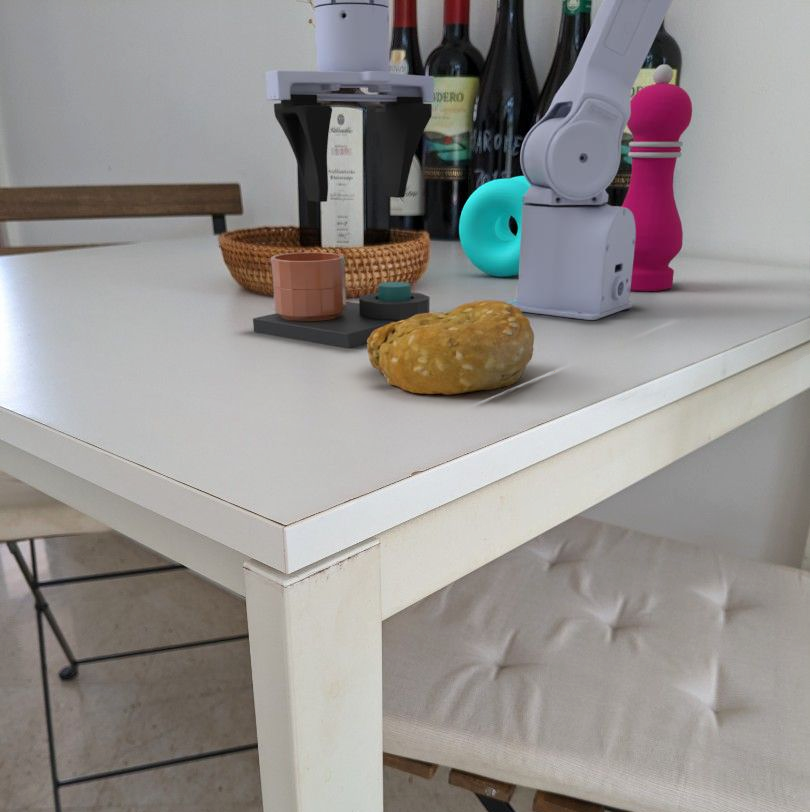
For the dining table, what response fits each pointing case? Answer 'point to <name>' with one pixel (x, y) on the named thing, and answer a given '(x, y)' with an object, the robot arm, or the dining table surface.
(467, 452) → the dining table surface
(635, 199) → the pepper mill
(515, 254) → the donuts
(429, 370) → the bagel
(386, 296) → the button
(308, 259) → the cup
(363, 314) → the scale
